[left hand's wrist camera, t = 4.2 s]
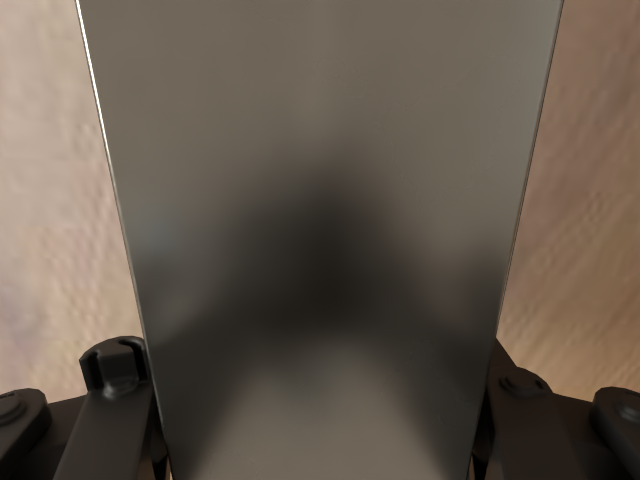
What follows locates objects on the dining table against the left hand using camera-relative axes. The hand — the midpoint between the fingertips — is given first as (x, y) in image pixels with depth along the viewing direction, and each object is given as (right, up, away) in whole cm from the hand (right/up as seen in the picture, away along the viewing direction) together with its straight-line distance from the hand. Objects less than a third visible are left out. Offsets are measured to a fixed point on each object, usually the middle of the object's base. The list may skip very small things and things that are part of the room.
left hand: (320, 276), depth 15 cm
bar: (0, +8, -3) cm, 8 cm away
